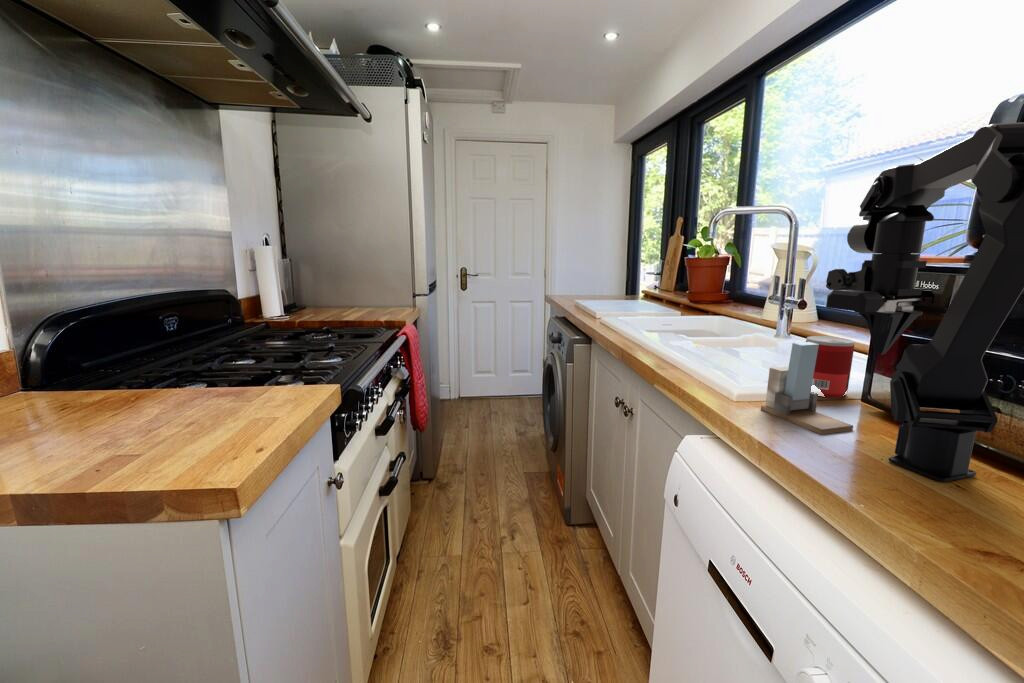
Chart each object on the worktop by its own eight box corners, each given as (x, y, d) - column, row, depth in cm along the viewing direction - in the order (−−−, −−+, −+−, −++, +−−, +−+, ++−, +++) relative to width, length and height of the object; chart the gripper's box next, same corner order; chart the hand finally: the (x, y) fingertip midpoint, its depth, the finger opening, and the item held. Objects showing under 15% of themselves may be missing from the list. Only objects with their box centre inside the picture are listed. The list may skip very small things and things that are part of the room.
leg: (808, 408, 80) (819, 344, 78) (789, 410, 79) (800, 345, 76) (799, 404, 82) (810, 341, 79) (781, 406, 81) (791, 342, 78)
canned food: (856, 398, 90) (864, 343, 88) (814, 398, 90) (821, 342, 88) (830, 387, 98) (837, 335, 96) (791, 387, 98) (798, 335, 96)
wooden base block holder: (852, 430, 74) (859, 382, 73) (821, 434, 72) (828, 386, 71) (789, 406, 85) (794, 365, 84) (760, 409, 84) (765, 367, 82)
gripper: (886, 253, 81) (872, 341, 84) (802, 253, 76) (790, 346, 79) (962, 254, 71) (943, 354, 74) (870, 253, 66) (854, 361, 69)
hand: (879, 353), depth 74 cm, fingers closed
